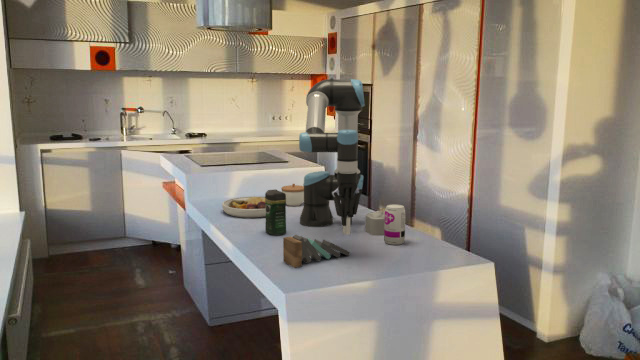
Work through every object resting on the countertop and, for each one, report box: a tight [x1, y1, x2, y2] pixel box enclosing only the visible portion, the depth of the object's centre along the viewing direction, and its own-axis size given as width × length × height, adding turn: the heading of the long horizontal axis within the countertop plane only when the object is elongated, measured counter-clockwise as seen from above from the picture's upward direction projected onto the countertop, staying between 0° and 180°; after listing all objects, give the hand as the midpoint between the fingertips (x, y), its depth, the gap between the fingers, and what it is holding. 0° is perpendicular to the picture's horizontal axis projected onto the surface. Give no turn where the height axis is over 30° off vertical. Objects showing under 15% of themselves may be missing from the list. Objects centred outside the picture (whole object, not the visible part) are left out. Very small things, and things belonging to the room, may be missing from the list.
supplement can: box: [383, 203, 406, 246], centre depth 244 cm, size 8×8×15 cm
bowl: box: [221, 195, 266, 219], centre depth 298 cm, size 30×30×8 cm
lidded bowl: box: [280, 183, 304, 207], centre depth 314 cm, size 13×13×11 cm
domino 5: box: [321, 239, 351, 257], centre depth 227 cm, size 2×5×10 cm
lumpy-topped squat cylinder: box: [365, 210, 385, 236], centre depth 261 cm, size 10×13×9 cm
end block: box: [282, 236, 303, 268], centre depth 217 cm, size 3×8×9 cm, turn 32°
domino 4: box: [313, 239, 341, 259], centre depth 225 cm, size 2×5×10 cm
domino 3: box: [306, 237, 332, 261], centre depth 223 cm, size 2×5×10 cm
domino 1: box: [292, 234, 312, 264], centre depth 219 cm, size 2×5×10 cm, turn 31°
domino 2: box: [299, 235, 322, 262], centre depth 221 cm, size 2×5×10 cm
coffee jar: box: [264, 189, 287, 236], centre depth 258 cm, size 10×8×19 cm
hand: (346, 233), depth 229 cm, fingers closed
